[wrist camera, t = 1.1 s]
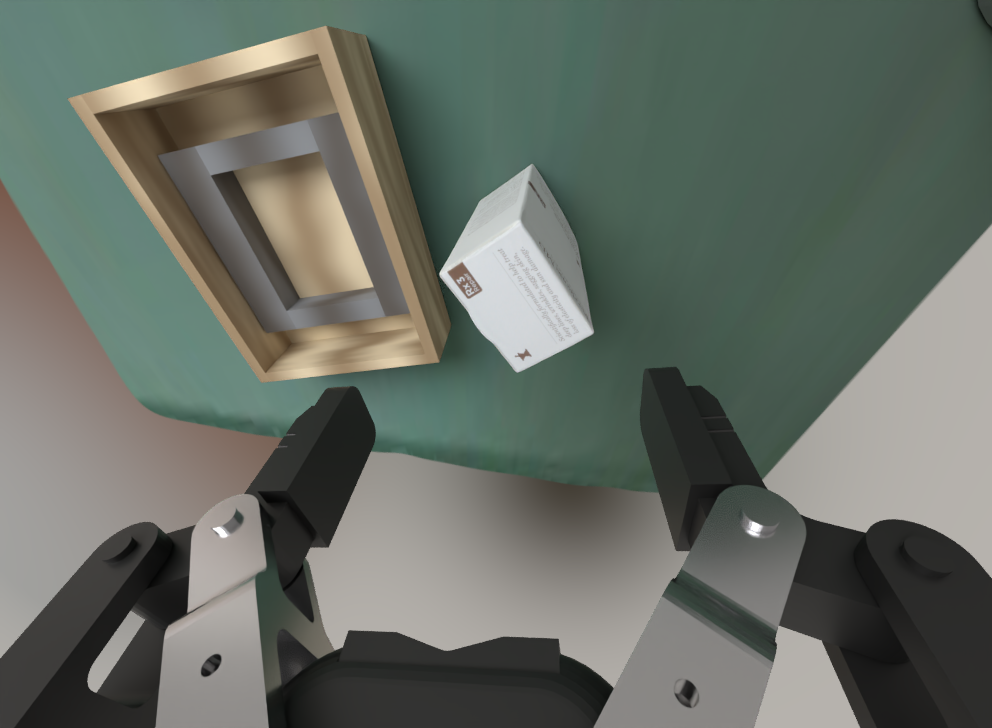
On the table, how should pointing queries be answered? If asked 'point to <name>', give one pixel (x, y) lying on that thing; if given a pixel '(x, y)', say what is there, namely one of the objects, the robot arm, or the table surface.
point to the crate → (283, 202)
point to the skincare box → (521, 273)
